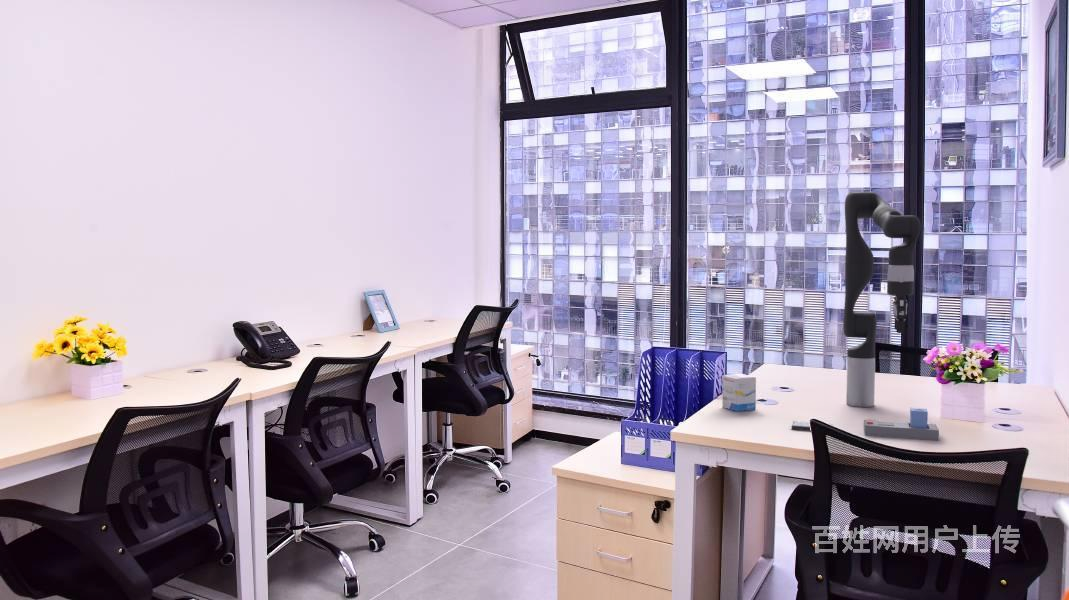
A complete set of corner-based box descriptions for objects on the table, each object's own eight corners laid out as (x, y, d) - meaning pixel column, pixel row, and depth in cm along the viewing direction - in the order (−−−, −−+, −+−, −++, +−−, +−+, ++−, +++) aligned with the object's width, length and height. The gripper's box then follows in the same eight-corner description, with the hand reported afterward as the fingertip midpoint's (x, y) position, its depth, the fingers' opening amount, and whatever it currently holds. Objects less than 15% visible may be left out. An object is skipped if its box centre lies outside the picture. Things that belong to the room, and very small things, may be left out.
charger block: (909, 433, 237) (910, 406, 237) (925, 434, 236) (926, 407, 235) (910, 437, 233) (911, 409, 233) (927, 438, 232) (927, 410, 231)
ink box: (756, 409, 273) (756, 376, 272) (736, 411, 270) (736, 378, 269) (741, 405, 281) (741, 372, 280) (721, 407, 278) (721, 374, 277)
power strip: (863, 429, 244) (863, 418, 243) (935, 434, 236) (935, 422, 236) (864, 435, 236) (864, 423, 236) (938, 440, 229) (939, 428, 229)
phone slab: (792, 424, 251) (792, 420, 250) (832, 427, 246) (832, 423, 246) (791, 429, 244) (791, 425, 244) (832, 432, 240) (832, 428, 240)
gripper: (886, 278, 252) (884, 328, 253) (888, 280, 239) (887, 333, 240) (911, 278, 249) (910, 329, 250) (916, 281, 236) (914, 334, 237)
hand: (899, 331), depth 245 cm, fingers open, 8 cm apart
